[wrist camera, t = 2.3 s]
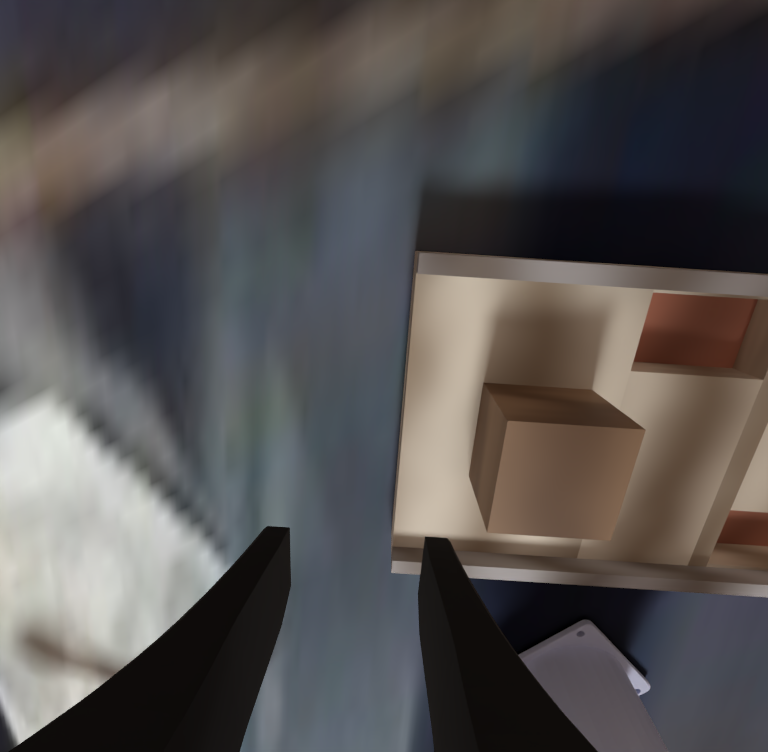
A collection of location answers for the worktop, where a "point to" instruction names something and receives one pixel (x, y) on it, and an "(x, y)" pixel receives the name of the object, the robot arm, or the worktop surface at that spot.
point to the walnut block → (551, 461)
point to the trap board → (616, 385)
